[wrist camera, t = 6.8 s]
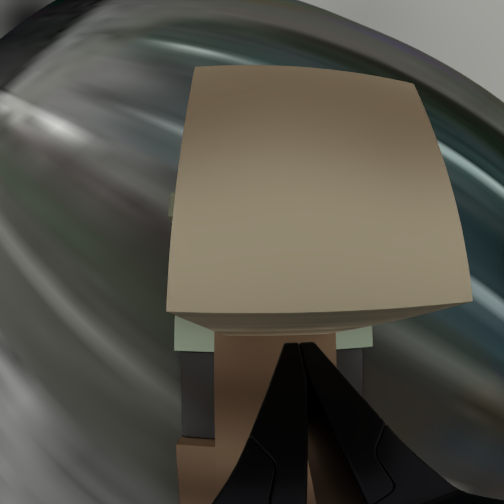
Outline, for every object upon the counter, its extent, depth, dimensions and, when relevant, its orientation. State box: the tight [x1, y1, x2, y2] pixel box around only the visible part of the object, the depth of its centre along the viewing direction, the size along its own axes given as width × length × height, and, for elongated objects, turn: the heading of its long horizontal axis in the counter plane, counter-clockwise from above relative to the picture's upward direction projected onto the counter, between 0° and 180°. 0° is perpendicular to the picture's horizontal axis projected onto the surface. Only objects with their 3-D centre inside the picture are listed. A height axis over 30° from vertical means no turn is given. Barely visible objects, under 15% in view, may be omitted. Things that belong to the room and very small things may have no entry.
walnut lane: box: [168, 193, 373, 504], centre depth 13 cm, size 19×10×4 cm, turn 0°
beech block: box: [166, 65, 473, 336], centre depth 10 cm, size 5×5×11 cm
